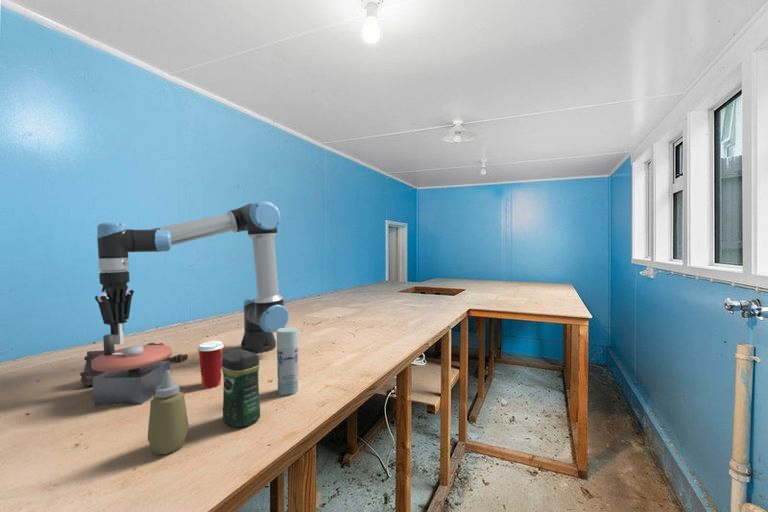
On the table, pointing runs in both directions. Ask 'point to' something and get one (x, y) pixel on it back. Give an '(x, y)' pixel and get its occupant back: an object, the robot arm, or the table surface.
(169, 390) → the squeeze bottle
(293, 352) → the spray paint can
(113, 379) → the grey box
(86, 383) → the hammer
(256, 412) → the coffee jar
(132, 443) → the table surface
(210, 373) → the paper cup
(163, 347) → the handwheel
